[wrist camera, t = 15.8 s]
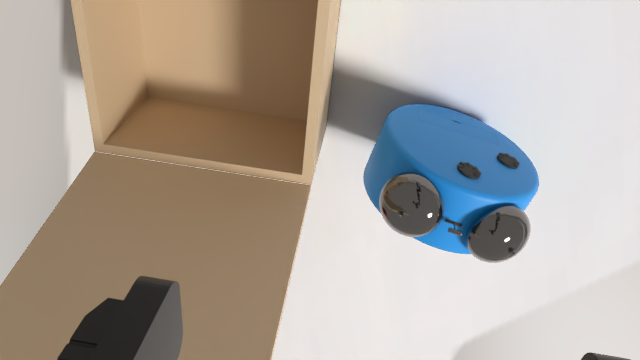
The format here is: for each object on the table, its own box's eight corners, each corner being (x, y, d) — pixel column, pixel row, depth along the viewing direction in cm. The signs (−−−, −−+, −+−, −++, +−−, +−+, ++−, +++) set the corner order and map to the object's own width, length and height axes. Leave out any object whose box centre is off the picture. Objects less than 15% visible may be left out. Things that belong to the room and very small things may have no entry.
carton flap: (-129, 460, 26) (-115, 470, 27) (230, 529, 25) (231, 538, 26) (93, 147, 44) (97, 161, 45) (311, 181, 43) (310, 194, 44)
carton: (123, -108, 42) (55, -91, 34) (349, -79, 41) (336, -55, 33) (143, 100, 52) (95, 151, 44) (326, 127, 51) (311, 184, 43)
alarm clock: (366, 139, 52) (353, 240, 39) (389, 83, 48) (384, 173, 36) (493, 182, 52) (521, 294, 40) (525, 129, 49) (566, 233, 37)
